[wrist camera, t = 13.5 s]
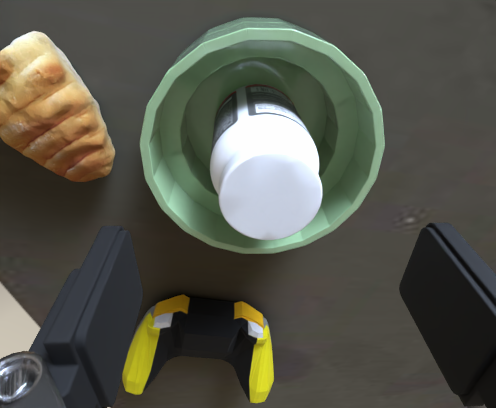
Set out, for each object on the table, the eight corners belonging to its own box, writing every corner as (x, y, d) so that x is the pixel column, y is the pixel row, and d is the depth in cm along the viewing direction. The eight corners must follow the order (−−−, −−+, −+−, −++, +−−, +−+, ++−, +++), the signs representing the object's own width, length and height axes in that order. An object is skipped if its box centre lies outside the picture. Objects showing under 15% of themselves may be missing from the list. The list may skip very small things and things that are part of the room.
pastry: (144, 147, 25) (130, 172, 21) (74, 187, 26) (51, 216, 23) (43, 18, 20) (6, 25, 17) (-34, 76, 22) (-81, 93, 18)
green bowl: (150, 14, 20) (119, 25, 15) (366, 19, 21) (414, 31, 15) (172, 200, 27) (156, 254, 22) (333, 200, 28) (357, 253, 22)
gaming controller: (264, 360, 39) (287, 301, 34) (269, 410, 35) (296, 351, 29) (131, 348, 37) (133, 284, 32) (116, 400, 33) (116, 334, 27)
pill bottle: (238, 173, 26) (241, 265, 17) (199, 106, 23) (179, 177, 14) (309, 140, 24) (350, 221, 16) (277, 65, 21) (305, 115, 13)
